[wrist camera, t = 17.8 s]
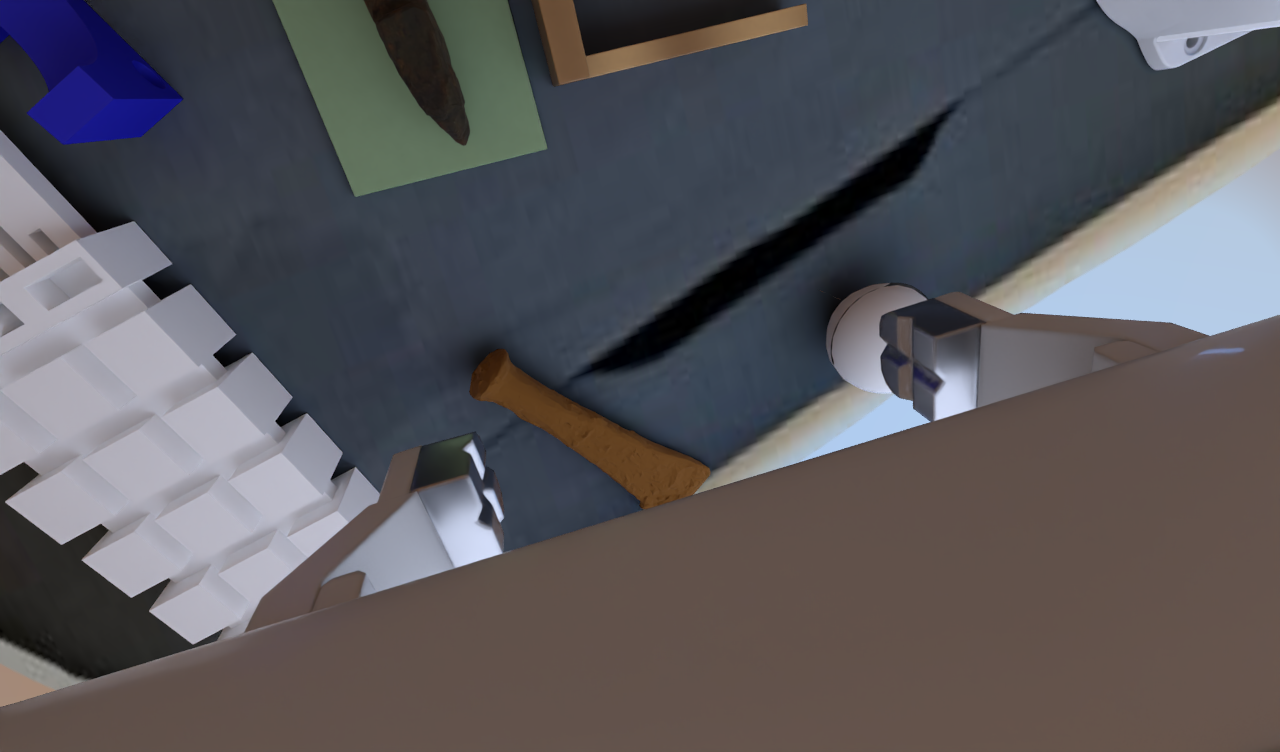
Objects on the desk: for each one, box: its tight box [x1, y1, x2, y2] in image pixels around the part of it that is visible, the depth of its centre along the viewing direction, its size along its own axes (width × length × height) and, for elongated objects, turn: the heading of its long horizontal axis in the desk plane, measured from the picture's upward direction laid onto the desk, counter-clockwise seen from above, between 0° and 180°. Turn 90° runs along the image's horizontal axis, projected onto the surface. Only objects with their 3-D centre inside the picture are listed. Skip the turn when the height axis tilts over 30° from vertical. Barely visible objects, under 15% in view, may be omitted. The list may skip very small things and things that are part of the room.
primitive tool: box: [469, 349, 710, 509], centre depth 41 cm, size 19×6×4 cm, turn 51°
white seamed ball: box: [819, 283, 928, 393], centre depth 39 cm, size 10×7×7 cm
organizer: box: [0, 130, 380, 644], centre depth 34 cm, size 13×5×35 cm
